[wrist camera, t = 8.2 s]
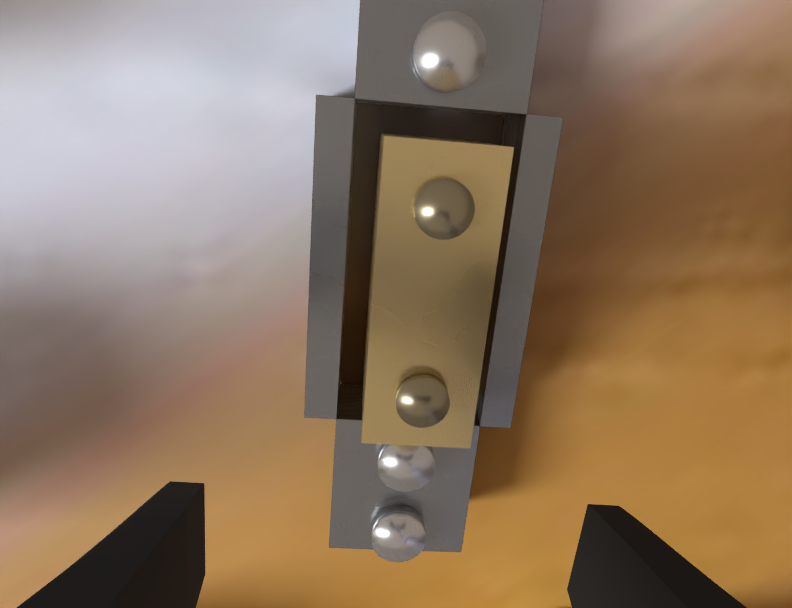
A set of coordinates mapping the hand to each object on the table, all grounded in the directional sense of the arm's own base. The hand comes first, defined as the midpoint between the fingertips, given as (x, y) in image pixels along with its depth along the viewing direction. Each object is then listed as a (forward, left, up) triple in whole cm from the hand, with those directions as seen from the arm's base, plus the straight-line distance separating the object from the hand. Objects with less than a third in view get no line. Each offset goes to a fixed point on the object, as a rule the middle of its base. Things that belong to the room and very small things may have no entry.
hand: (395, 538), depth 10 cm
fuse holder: (-1, -3, -9) cm, 10 cm away
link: (-1, -3, -10) cm, 10 cm away
